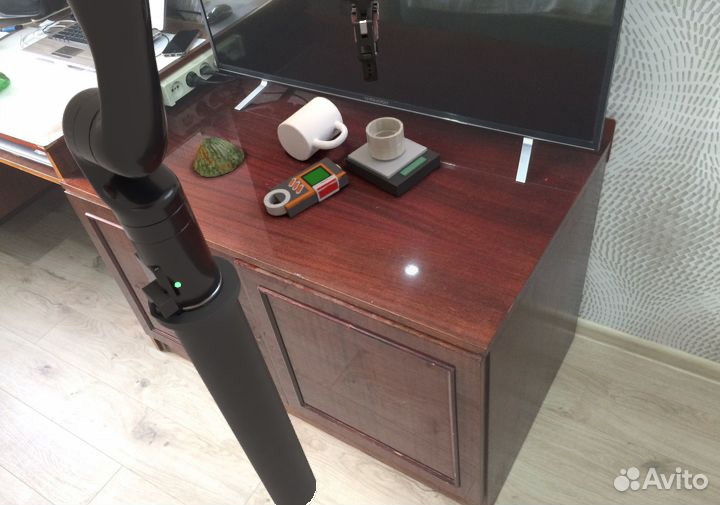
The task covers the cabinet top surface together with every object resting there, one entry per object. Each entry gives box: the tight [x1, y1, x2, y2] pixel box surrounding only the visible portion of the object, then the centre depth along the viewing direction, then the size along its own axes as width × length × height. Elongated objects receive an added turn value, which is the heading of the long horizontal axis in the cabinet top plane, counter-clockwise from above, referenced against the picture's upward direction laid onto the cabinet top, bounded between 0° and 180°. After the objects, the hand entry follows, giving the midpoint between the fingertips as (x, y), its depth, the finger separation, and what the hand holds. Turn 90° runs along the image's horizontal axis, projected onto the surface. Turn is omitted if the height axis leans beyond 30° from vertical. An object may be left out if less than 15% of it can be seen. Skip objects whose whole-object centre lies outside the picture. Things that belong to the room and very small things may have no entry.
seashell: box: [192, 136, 245, 178], centre depth 114 cm, size 10×4×10 cm
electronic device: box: [263, 156, 350, 218], centre depth 104 cm, size 7×3×15 cm
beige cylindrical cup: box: [365, 116, 405, 160], centre depth 104 cm, size 6×6×5 cm
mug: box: [277, 96, 349, 161], centre depth 111 cm, size 12×10×8 cm
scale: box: [344, 137, 441, 198], centre depth 106 cm, size 11×13×3 cm
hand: (371, 66), depth 94 cm, fingers open, 8 cm apart
